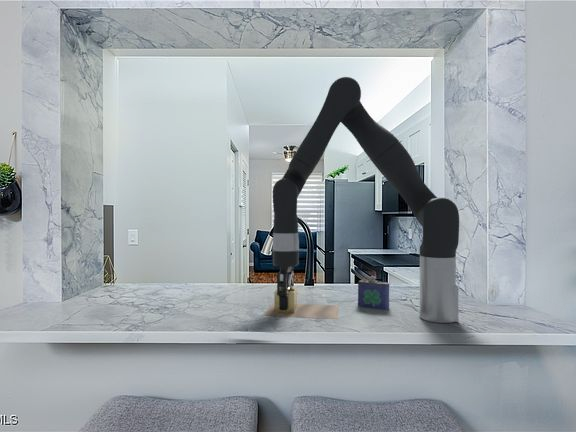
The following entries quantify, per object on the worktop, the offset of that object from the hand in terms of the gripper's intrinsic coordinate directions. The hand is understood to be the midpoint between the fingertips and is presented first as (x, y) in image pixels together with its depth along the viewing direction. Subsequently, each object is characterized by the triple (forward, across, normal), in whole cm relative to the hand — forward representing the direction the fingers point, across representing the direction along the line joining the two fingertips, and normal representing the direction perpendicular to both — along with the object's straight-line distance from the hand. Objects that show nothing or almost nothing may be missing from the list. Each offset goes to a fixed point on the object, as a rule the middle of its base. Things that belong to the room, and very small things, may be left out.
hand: (285, 306), depth 100 cm
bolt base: (+2, 0, -5) cm, 6 cm away
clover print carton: (+3, +7, -25) cm, 26 cm away
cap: (+1, 0, 0) cm, 1 cm away
